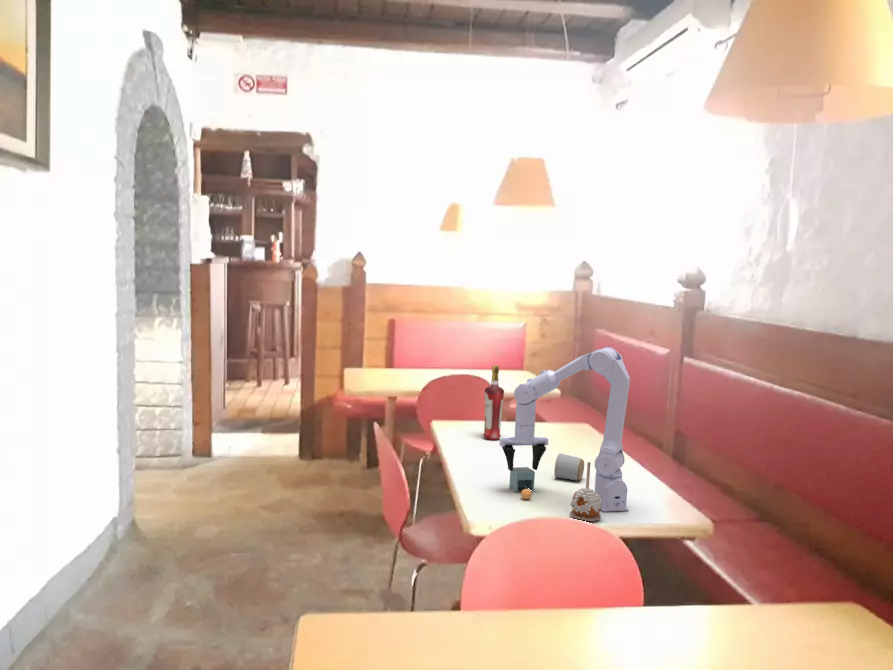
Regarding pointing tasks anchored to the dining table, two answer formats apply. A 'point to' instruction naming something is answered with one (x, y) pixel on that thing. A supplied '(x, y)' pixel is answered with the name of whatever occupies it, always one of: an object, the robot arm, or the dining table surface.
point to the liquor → (493, 407)
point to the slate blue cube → (522, 478)
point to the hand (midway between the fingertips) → (522, 469)
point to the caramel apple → (586, 502)
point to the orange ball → (526, 494)
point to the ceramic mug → (569, 467)
